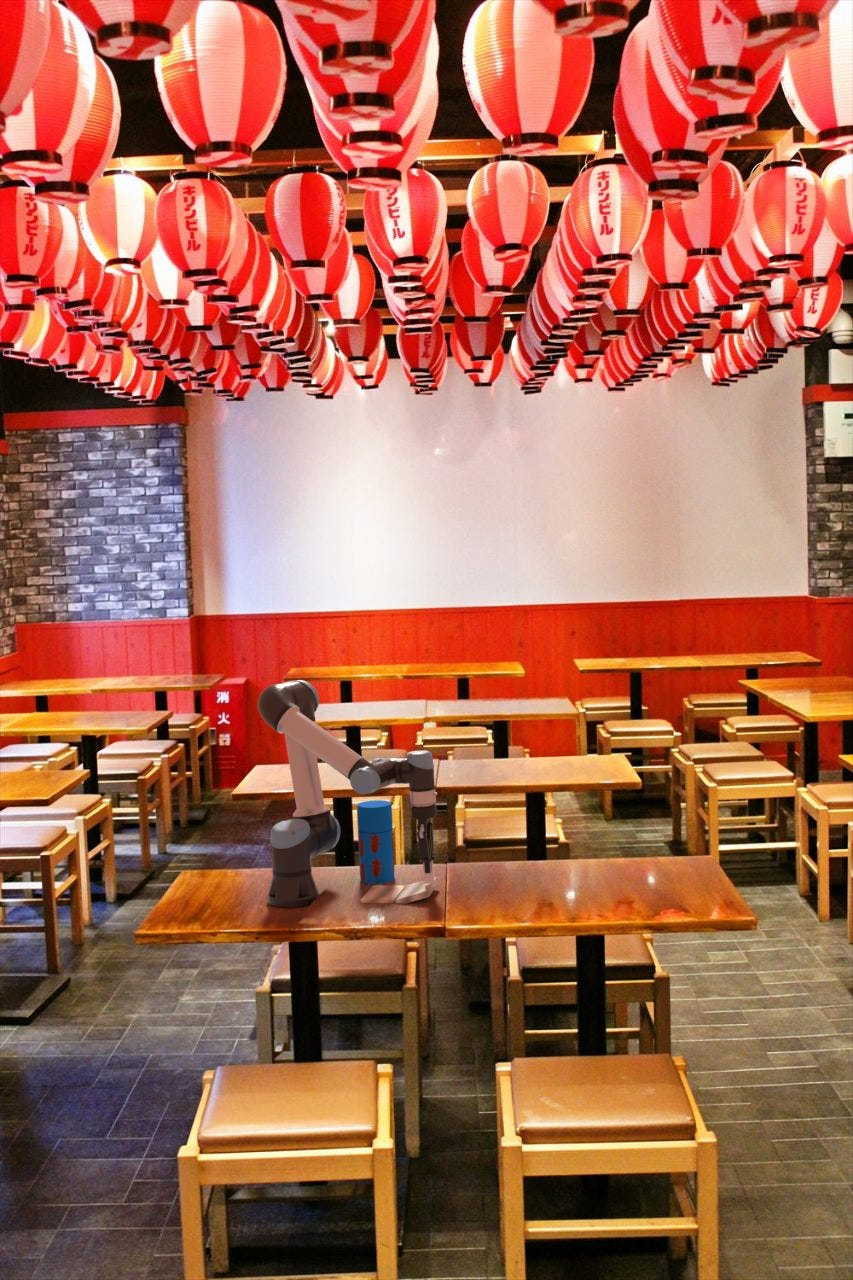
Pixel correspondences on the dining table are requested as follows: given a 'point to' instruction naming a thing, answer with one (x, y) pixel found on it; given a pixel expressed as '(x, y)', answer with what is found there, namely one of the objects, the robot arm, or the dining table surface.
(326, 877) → the dining table surface
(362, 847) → the thermos
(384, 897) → the floor board
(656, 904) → the dining table surface
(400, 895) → the plank
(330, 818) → the robot arm
